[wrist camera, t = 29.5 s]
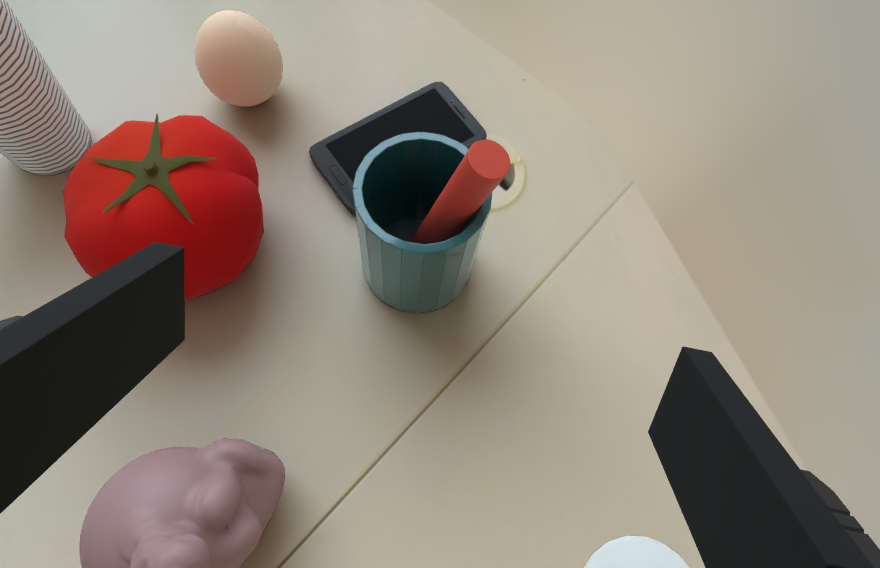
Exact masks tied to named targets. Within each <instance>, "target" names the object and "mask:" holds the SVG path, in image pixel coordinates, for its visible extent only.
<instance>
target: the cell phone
mask: <svg viewBox="0 0 880 568" xmlns="http://www.w3.org/2000/svg"><path fill="white" fill-rule="evenodd" d="M414 132H428V133H434V134H441V135H444V136H447V137H449V138H451V139H453V140H456V141H458V142H460V143H462V144H463V145H465V146H466V147H467V148H468V149H470V147H471V146H472V145H473V144H474V143H475V142H477V141H479V140H485V139H486V132H485V130H484V129H483V127H482V126H481V125H480V124H479V122H478V121H477V120H476V119H475V118H474V117H473V115H472V114H471V113H470V112H469V111H468V110H467V109H466V107H465V106H464V105H463V104H462V103H461V102H460V100H459V99H458V98H457V97H456V96H455V95H454V93H453V92H452V91H451V90H450V89H449V88H448V87H447V86H446V85H445V84H444V83H442V82H434V83H432V84H429V85H427V86H425V87H423V88H421V89H420V90H418V91H416V92H414V93H412V94H410V95H408V96H406V97H404V98H402V99H400V100H398V101H396V102H395V103H393V104H391V105H389V106H387V107H385V108H383V109H381V110H379V111H377V112H375V113H373V114H372V115H370V116H368V117H366V118H364V119H362V120H360V121H358V122H356V123H354V124H352V125H350V126H348V127H347V128H345V129H343V130H341V131H339V132H337V133H335V134H333V135H331V136H329V137H327V138H325V139H323V140H322V141H320V142H318V143H316V144H314V145H313V146H311V147H310V150H309V154H310V157H311V159H312V161H313V162H314V164H315V165H316V167H317V168H318V169H319V171H320V172H321V173H322V175H323V176H324V178H325V179H326V180H327V182H328V183H329V184H330V186H331V187H332V188H333V190H334V191H335V193H336V194H337V195H338V197H339V198H340V199H341V201H342V202H343V204H344V205H345V206H346V207H347V208H348V209H349V210H350V211H351V212H352V213H354V214H356V213H355V206H354V199H353V191H352V190H353V189H352V188H353V183H354V178H355V174H356V171H357V169H358V167H359V165H360V164H361V162H362V161H363V159H364V157H365V156H366V155H367V153H369V152H370V151H371V150H372V149H374V148H375V147H376V146H377V145H378V144H380V143H381V142H383V141H385V140H387V139H390V138H392V137H395V136H397V135H400V134H405V133H414Z"/></svg>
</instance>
